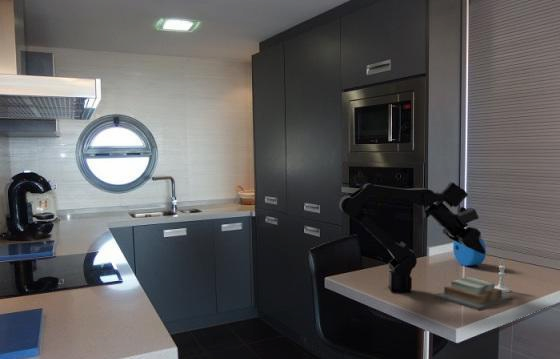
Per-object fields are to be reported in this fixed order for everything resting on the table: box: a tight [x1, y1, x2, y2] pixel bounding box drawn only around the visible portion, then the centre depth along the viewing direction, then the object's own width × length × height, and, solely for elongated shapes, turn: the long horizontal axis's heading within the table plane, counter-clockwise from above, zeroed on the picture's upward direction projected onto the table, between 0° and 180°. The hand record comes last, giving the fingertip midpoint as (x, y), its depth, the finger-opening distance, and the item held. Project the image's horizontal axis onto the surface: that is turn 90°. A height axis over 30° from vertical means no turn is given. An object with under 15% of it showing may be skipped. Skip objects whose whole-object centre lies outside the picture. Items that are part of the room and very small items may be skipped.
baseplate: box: [433, 291, 512, 311], centre depth 138 cm, size 18×15×1 cm
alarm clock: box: [452, 227, 487, 268], centre depth 179 cm, size 13×6×15 cm, turn 15°
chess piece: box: [494, 260, 511, 293], centre depth 145 cm, size 5×5×10 cm
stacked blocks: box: [443, 276, 503, 304], centre depth 138 cm, size 12×12×4 cm
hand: (478, 250), depth 145 cm, fingers open, 9 cm apart
